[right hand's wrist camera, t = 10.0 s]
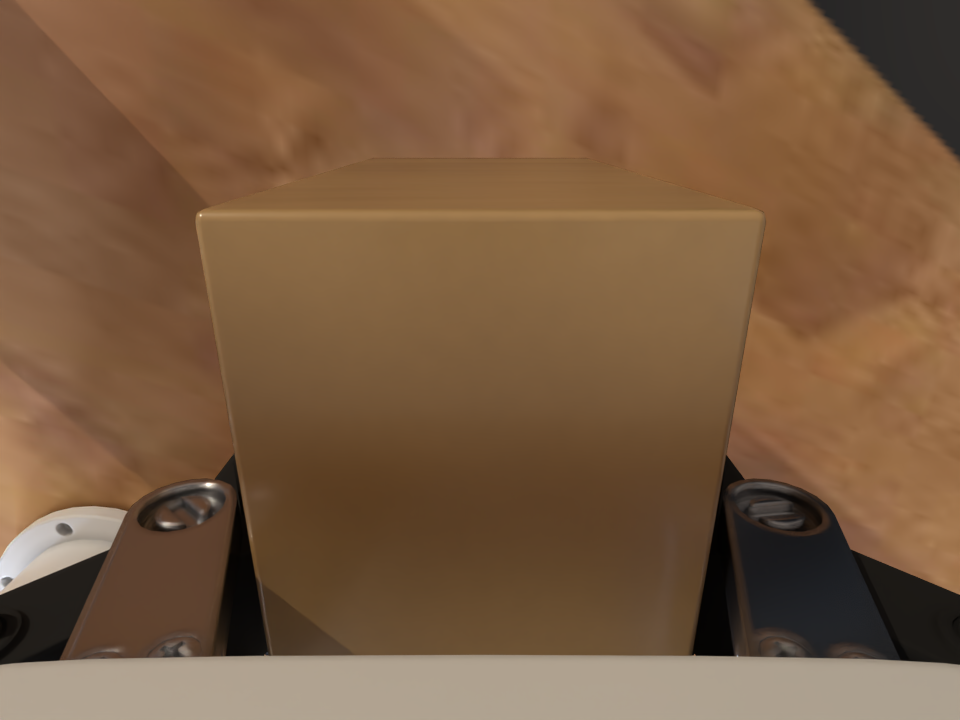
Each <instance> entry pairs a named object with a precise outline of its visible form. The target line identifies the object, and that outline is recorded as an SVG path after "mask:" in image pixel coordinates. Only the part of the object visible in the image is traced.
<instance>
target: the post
mask: <svg viewBox="0 0 960 720" xmlns="http://www.w3.org/2000/svg"><path fill="white" fill-rule="evenodd" d="M195 224H196V230H197V235H198V241H199V247H200V253H201V259H202V265H203V271H204V277H205V283H206V288H207V294H208V300H209V306H210V312H211V318H212V324H213V330H214V336H215V342H216V347H217V353H218V359H219V365H220V371H221V377H222V383H223V389H224V395H225V400H226V406H227V412H228V418H229V424H230V430H231V436H232V442H233V448H234V453H235V459H236V465H237V471H238V477H239V483H240V489H241V495H242V501H243V507H244V512H245V518H246V524H247V530H248V536H249V542H250V548H251V554H252V560H253V565H254V571H255V577H256V583H257V589H258V595H259V601H260V607H261V613H262V619H263V624H264V630H265V636H266V642H267V648H268V654H269V656H343V655H617V656H692V653H693V647H694V641H695V635H696V629H697V623H698V617H699V611H700V606H701V600H702V594H703V588H704V582H705V576H706V570H707V564H708V559H709V553H710V547H711V541H712V535H713V529H714V523H715V518H716V512H717V506H718V500H719V494H720V488H721V482H722V476H723V471H724V465H725V459H726V453H727V447H728V441H729V435H730V429H731V424H732V418H733V412H734V406H735V400H736V394H737V388H738V382H739V377H740V371H741V365H742V359H743V353H744V347H745V341H746V336H747V330H748V324H749V318H750V312H751V306H752V300H753V294H754V289H755V283H756V277H757V271H758V265H759V259H760V253H761V247H762V242H763V236H764V230H765V224H766V219H765V214H764V212H762V211H760V210H758V209H756V208H752V207H749V206H746V205H742V204H739V203H736V202H732V201H729V200H726V199H722V198H719V197H716V196H712V195H709V194H705V193H702V192H699V191H695V190H692V189H689V188H685V187H682V186H679V185H675V184H672V183H669V182H665V181H662V180H659V179H655V178H652V177H648V176H645V175H642V174H638V173H635V172H632V171H628V170H625V169H622V168H618V167H615V166H612V165H608V164H605V163H602V162H598V161H595V160H591V159H588V158H371V159H368V160H365V161H361V162H358V163H355V164H352V165H348V166H345V167H342V168H338V169H335V170H332V171H328V172H325V173H322V174H318V175H315V176H312V177H308V178H305V179H302V180H298V181H295V182H292V183H289V184H285V185H282V186H279V187H275V188H272V189H269V190H265V191H262V192H259V193H255V194H252V195H249V196H245V197H242V198H239V199H235V200H232V201H229V202H225V203H222V204H219V205H216V206H212V207H209V208H206V209H203V210H201V211H199V212H197V214H196V220H195Z"/></svg>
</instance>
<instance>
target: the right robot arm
mask: <svg viewBox="0 0 960 720" xmlns="http://www.w3.org/2000/svg"><path fill="white" fill-rule="evenodd" d="M264 654H265V655H269V654H268V648H267V642H266V636H265V630H264V624H263V619H262V613H261V607H260V601H259V595H258V589H257V583H256V577H255V571H254V565H253V560H252V554H251V548H250V542H249V536H248V530H247V524H246V518H245V512H244V507H243V501H242V495H241V489H240V483H239V477H238V471H237V465H236V459H235V453H234V454H233V456H232V457H231V458H230V460H229V461H228V462H227V464H226V465H225V466H224V468H223V469H222V470H221V472H220V473H219V474H218V476H217V477H216V478H215V480H214V479H192V480H186V481H182V482H177V483H173V484H170V485H167V486H164V487H162V488H159V489H157V490H155V491H153V492H151V493H149V494H147V495H145V496H143V497H142V498H141V499H140V500H138V501H137V502H136V503H135V504H133V505H132V506H131V508H130V509H129V511H124V510H121V509H117V508H108V507H98V506H87V507H72V508H68V509H64V510H60V511H55V512H53V513H50V514H48V515H46V516H44V517H42V518H40V519H37V520H36V521H35V522H33V523H32V524H31V525H30V526H28V527H27V528H26V529H24V530H23V531H22V532H21V533H20V534H19V535H18V536H17V537H16V538H15V539H14V540H13V541H12V542H11V543H10V544H9V545H8V546H7V548H6V550H5V552H4V553H3V555H2V557H1V559H0V720H960V595H959V594H956V593H954V592H951V591H949V590H947V589H944V588H942V587H939V586H937V585H935V584H932V583H930V582H927V581H925V580H923V579H920V578H918V577H915V576H913V575H910V574H908V573H906V572H903V571H901V570H898V569H896V568H894V567H891V566H889V565H886V564H884V563H882V562H879V561H877V560H874V559H872V558H870V557H867V556H865V555H862V554H860V553H858V552H855V551H853V550H850V548H849V545H848V543H847V541H846V539H845V537H844V534H843V532H842V530H841V528H840V526H839V523H838V521H837V519H836V517H835V515H834V513H833V512H832V511H831V509H830V508H829V506H828V505H827V504H825V503H824V502H823V501H822V500H820V499H819V498H818V497H817V496H815V495H813V494H811V493H809V492H807V491H805V490H803V489H801V488H798V487H796V486H793V485H790V484H787V483H783V482H778V481H774V480H768V479H746V480H745V479H744V478H743V476H742V475H741V474H740V472H739V471H738V470H737V469H736V467H735V466H734V465H733V463H732V462H731V461H730V459H729V458H728V457H727V455H726V459H725V465H724V471H723V476H722V482H721V488H720V494H719V500H718V506H717V512H716V518H715V523H714V529H713V535H712V541H711V547H710V553H709V559H708V564H707V570H706V576H705V582H704V588H703V594H702V600H701V606H700V611H699V617H698V623H697V629H696V635H695V641H694V647H693V653H692V655H694V654H695V655H696V656H617V655H343V656H264Z"/></svg>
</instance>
